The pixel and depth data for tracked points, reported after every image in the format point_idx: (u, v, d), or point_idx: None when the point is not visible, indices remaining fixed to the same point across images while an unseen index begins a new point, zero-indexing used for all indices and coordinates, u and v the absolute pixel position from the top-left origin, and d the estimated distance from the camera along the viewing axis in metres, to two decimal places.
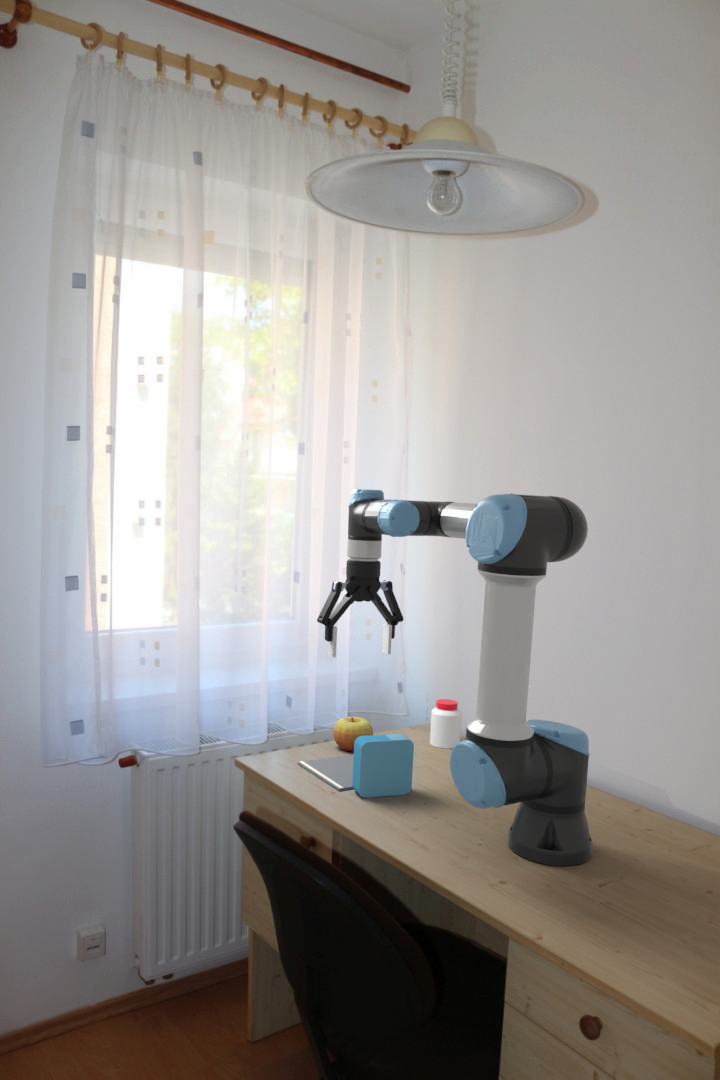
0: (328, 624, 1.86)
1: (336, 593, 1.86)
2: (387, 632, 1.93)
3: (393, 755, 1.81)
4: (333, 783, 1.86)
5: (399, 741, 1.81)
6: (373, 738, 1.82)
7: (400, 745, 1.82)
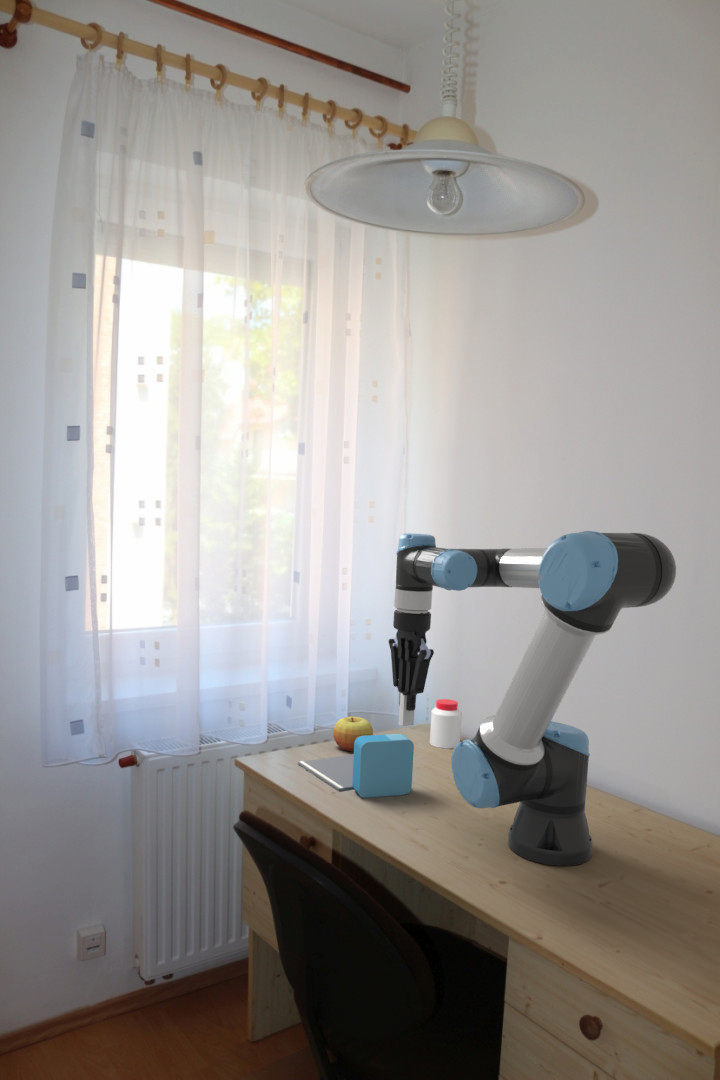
0: None
1: (391, 651, 1.78)
2: None
3: (393, 755, 1.81)
4: (333, 783, 1.86)
5: (399, 741, 1.81)
6: (373, 738, 1.82)
7: (400, 745, 1.82)
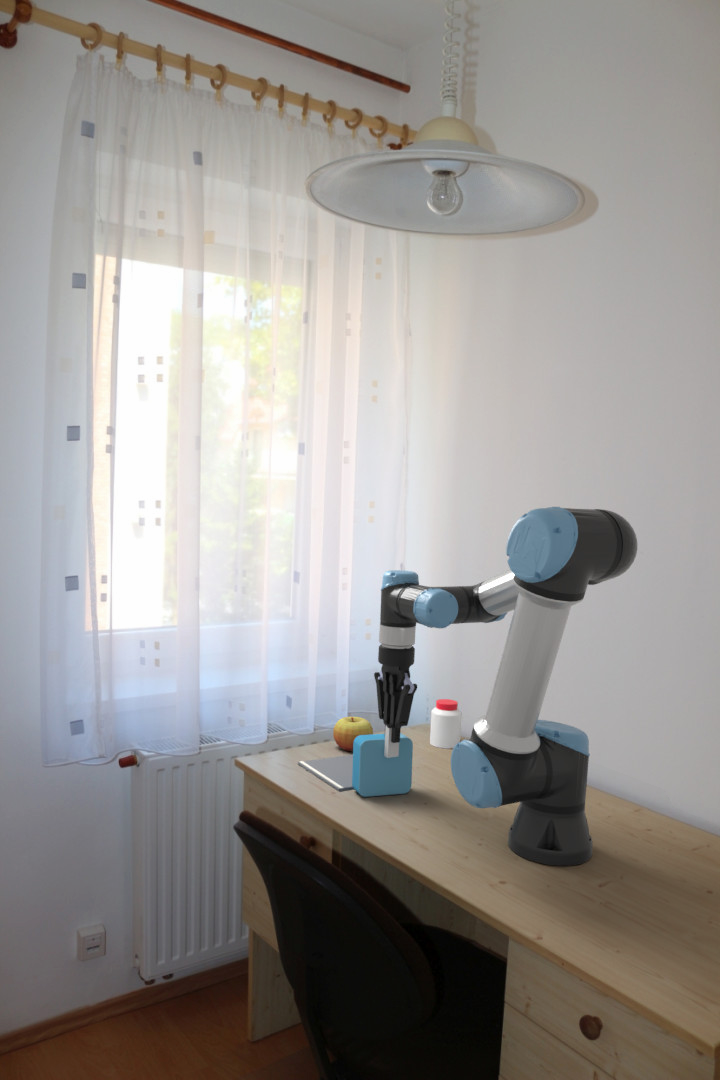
0: None
1: (377, 684, 1.83)
2: None
3: None
4: (333, 783, 1.86)
5: None
6: (372, 736, 1.82)
7: (399, 743, 1.82)
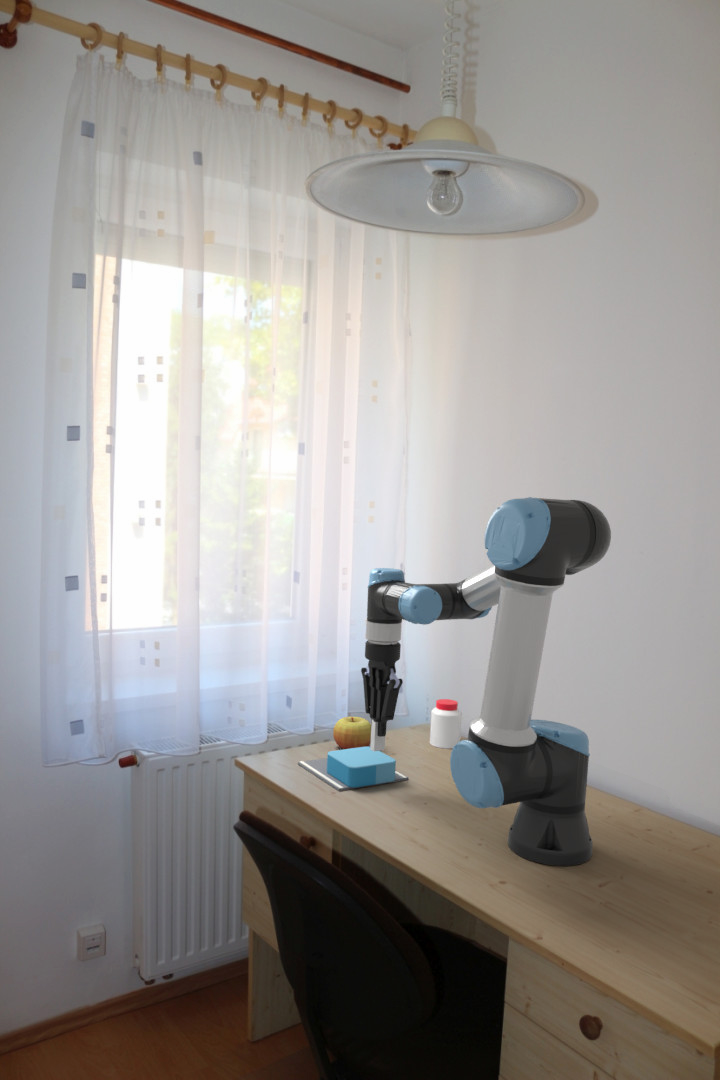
0: None
1: (363, 679, 1.88)
2: None
3: (360, 751, 1.95)
4: (333, 783, 1.86)
5: None
6: None
7: (361, 748, 1.97)
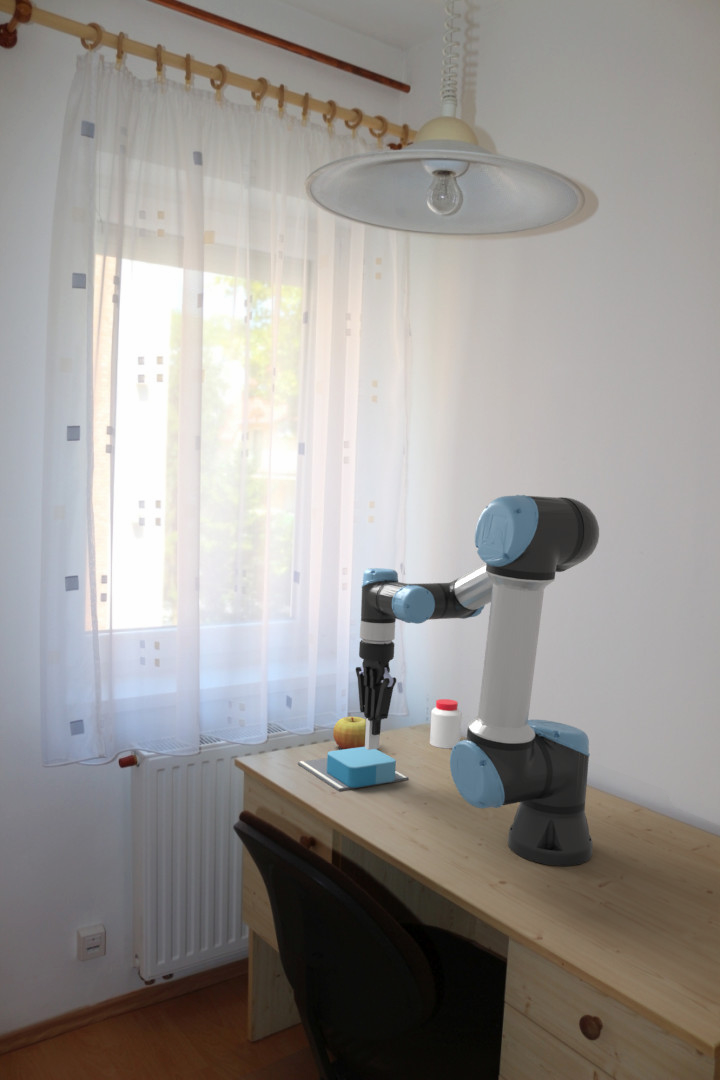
0: None
1: (358, 679, 1.90)
2: None
3: (360, 751, 1.95)
4: (333, 783, 1.86)
5: None
6: None
7: (361, 748, 1.97)
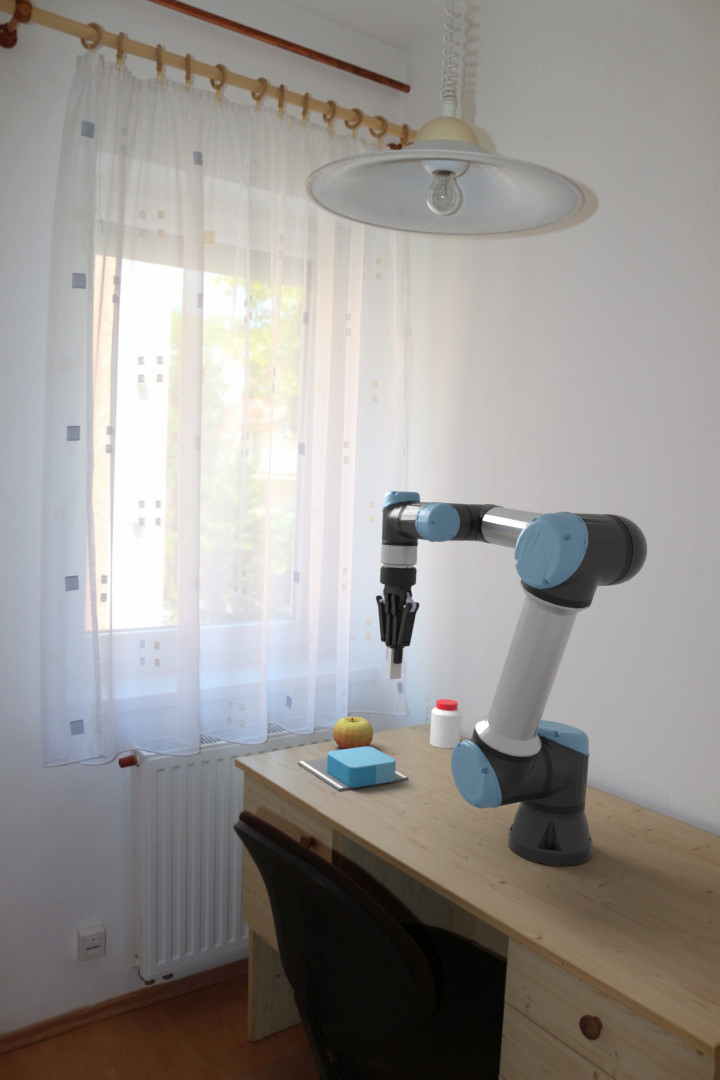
0: None
1: (378, 607, 1.83)
2: None
3: (360, 751, 1.95)
4: (333, 783, 1.86)
5: None
6: None
7: (361, 748, 1.97)
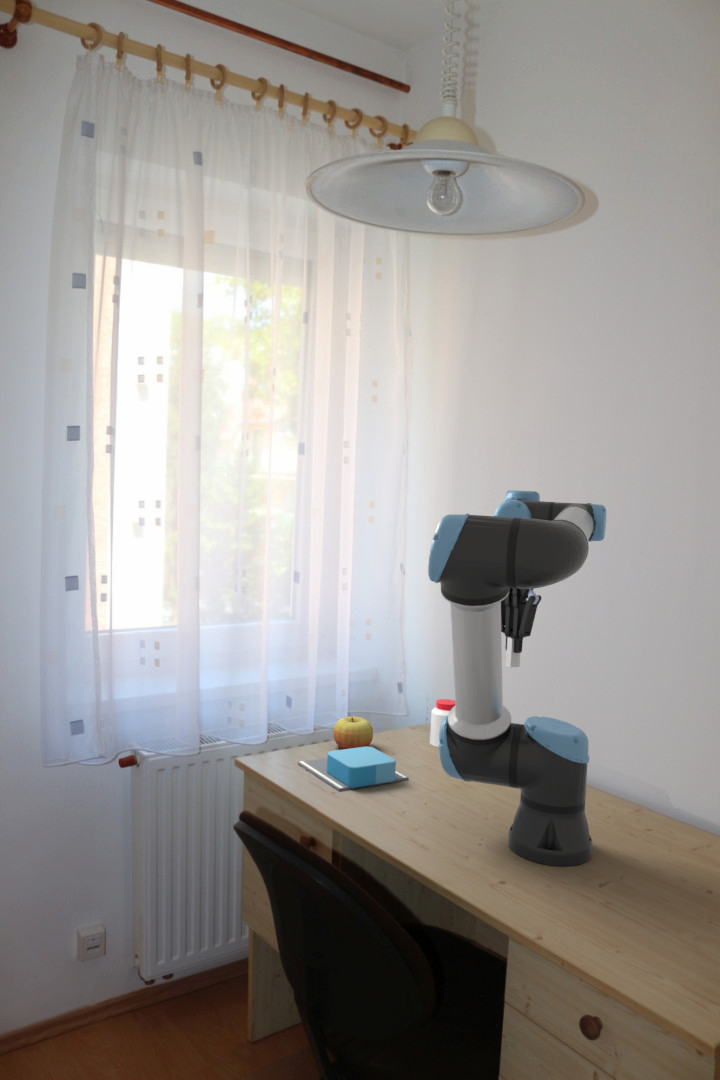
0: None
1: None
2: None
3: (360, 751, 1.95)
4: (333, 783, 1.86)
5: None
6: None
7: (361, 748, 1.97)
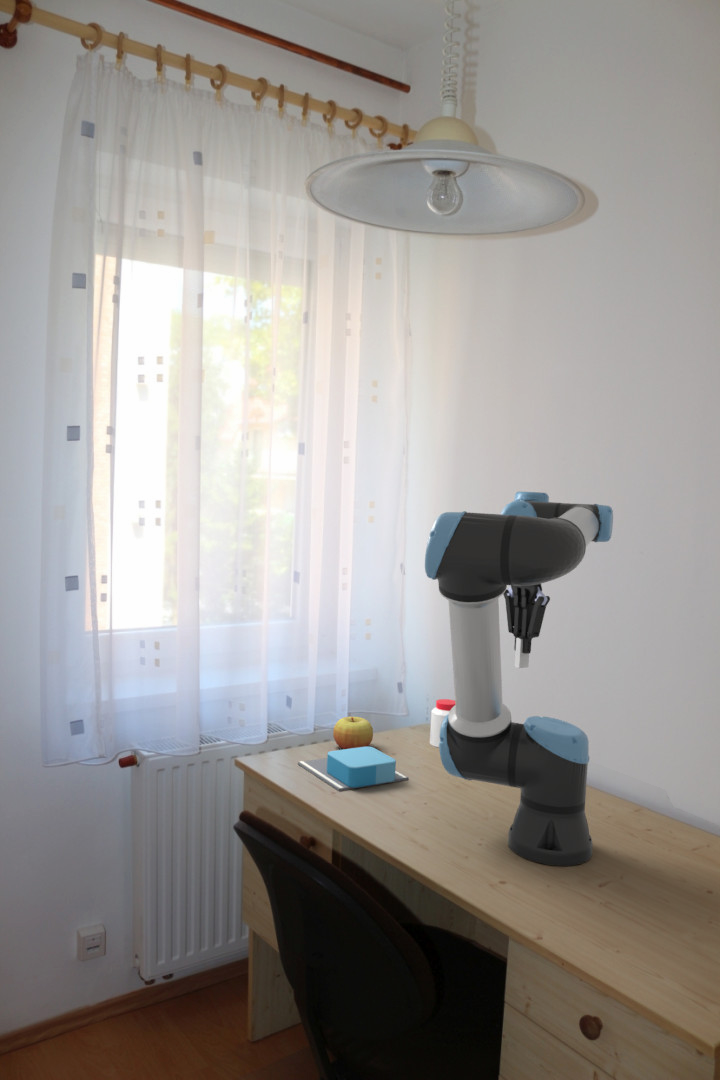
0: None
1: (506, 600, 1.95)
2: None
3: (360, 751, 1.95)
4: (333, 783, 1.86)
5: None
6: None
7: (361, 748, 1.97)
